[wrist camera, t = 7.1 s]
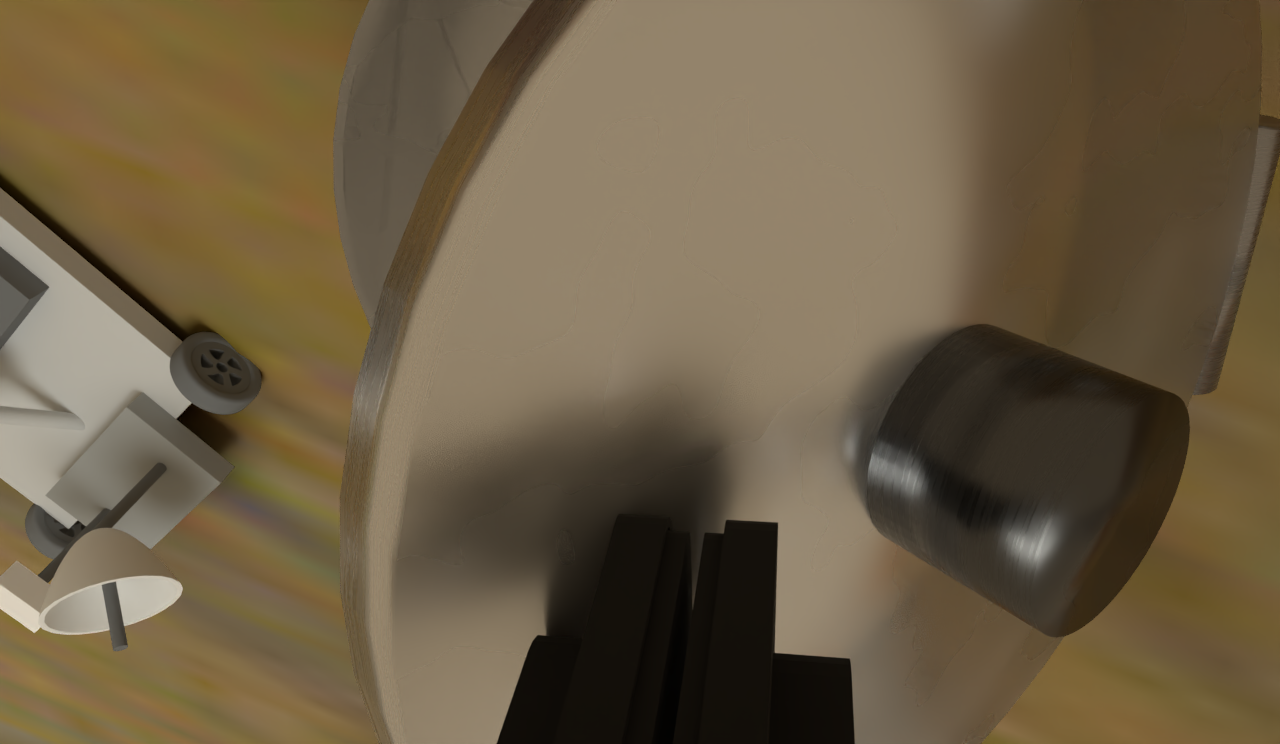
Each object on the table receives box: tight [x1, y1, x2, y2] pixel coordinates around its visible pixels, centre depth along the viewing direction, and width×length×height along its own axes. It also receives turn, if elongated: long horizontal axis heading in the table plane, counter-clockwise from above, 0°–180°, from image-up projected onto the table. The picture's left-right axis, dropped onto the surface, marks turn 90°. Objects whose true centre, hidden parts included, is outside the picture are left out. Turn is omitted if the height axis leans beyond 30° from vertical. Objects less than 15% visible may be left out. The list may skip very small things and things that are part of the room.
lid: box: [340, 0, 1280, 744], centre depth 13 cm, size 17×16×4 cm
